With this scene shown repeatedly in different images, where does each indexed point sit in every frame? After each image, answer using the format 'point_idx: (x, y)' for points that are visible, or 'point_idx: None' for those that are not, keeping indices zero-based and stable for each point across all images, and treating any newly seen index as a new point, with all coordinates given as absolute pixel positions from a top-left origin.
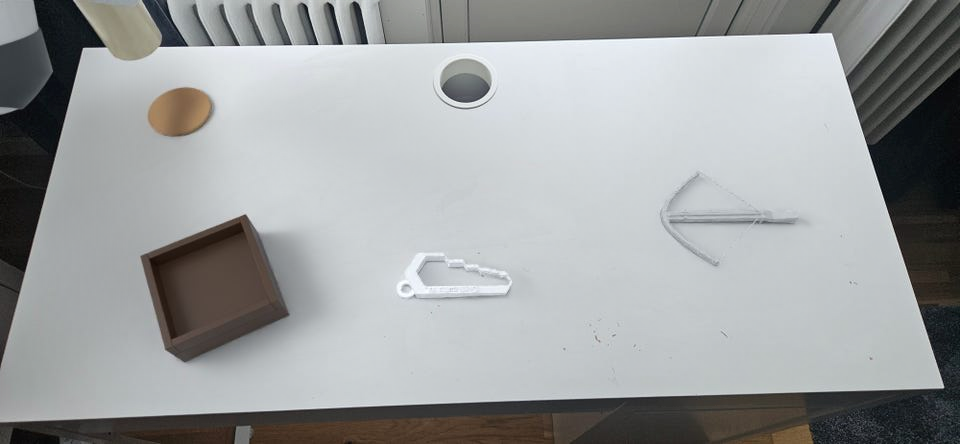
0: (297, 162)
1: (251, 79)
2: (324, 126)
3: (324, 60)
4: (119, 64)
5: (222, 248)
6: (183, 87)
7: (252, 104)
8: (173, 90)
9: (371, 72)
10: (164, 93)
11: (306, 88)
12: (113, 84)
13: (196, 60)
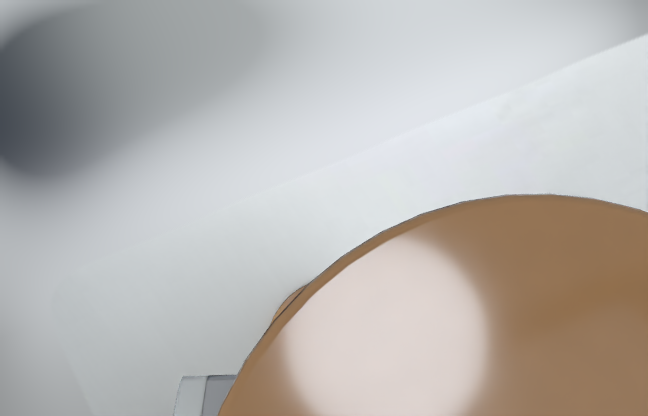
0: None
1: (423, 204)
2: None
3: (535, 99)
4: (116, 279)
5: None
6: (304, 286)
7: None
8: (288, 302)
9: (642, 94)
10: (275, 318)
11: (545, 182)
12: (140, 337)
13: (277, 202)
